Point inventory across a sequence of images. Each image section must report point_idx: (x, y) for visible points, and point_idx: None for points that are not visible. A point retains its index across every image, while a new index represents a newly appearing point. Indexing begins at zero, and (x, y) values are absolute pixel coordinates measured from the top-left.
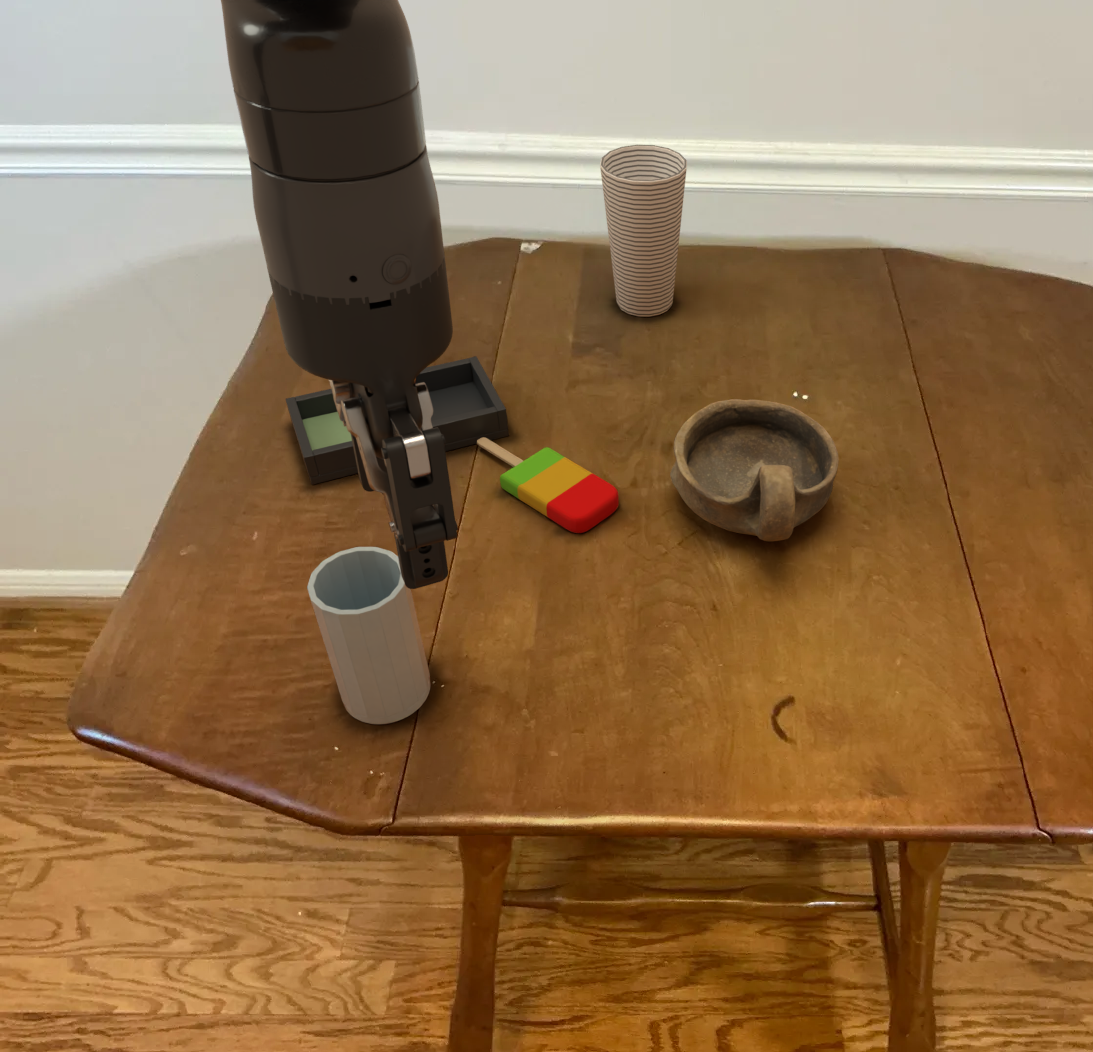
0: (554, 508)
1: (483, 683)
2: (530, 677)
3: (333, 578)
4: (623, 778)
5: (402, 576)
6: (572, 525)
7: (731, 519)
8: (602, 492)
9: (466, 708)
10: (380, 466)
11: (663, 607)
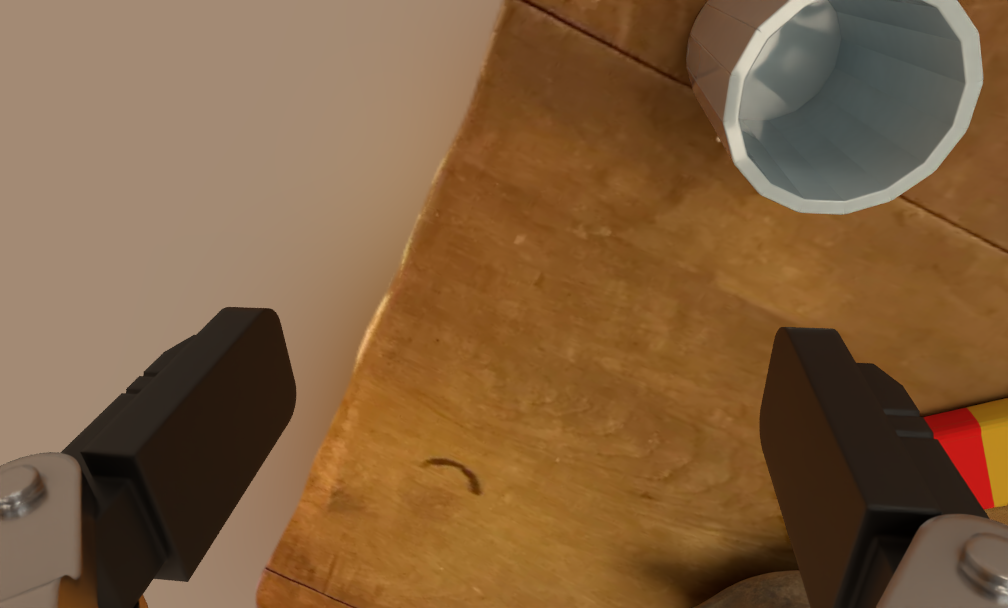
0: (960, 431)
1: (688, 197)
2: (661, 260)
3: (935, 41)
4: (447, 297)
5: (242, 316)
6: None
7: (736, 603)
8: None
9: (654, 158)
10: (793, 444)
11: (682, 452)
